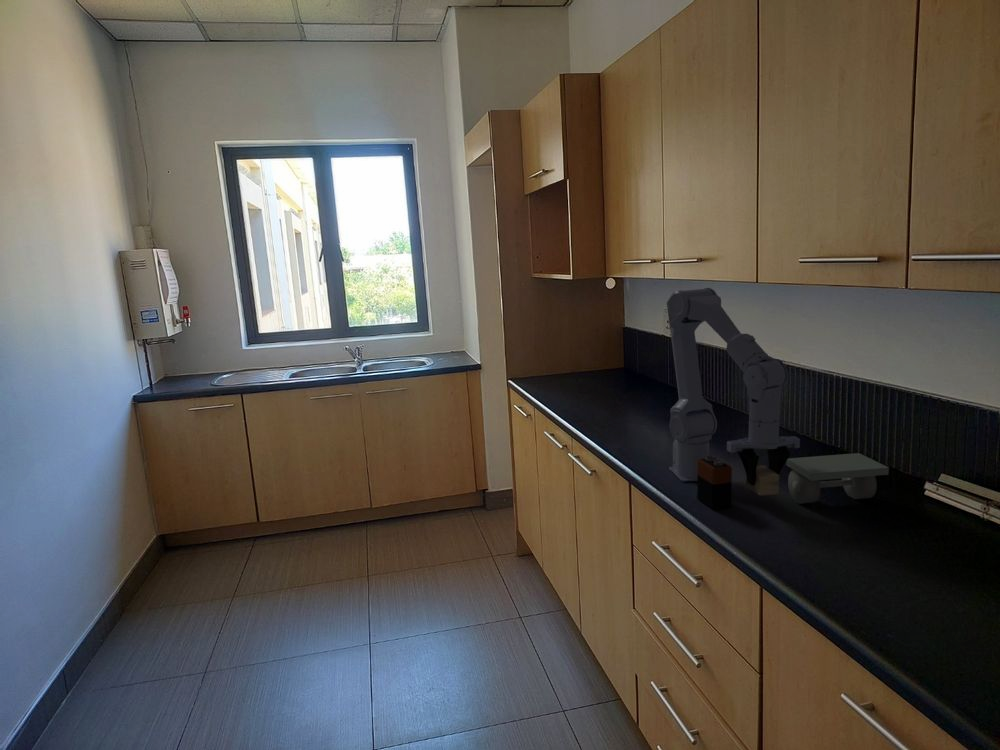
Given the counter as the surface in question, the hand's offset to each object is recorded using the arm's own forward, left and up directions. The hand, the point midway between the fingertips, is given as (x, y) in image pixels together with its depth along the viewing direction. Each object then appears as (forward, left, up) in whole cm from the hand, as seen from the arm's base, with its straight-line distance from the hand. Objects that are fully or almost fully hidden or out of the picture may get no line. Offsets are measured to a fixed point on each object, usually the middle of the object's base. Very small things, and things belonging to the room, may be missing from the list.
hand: (762, 482), depth 132 cm
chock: (0, 0, -1) cm, 1 cm away
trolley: (+1, +15, -5) cm, 16 cm away
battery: (-3, -9, -5) cm, 11 cm away
